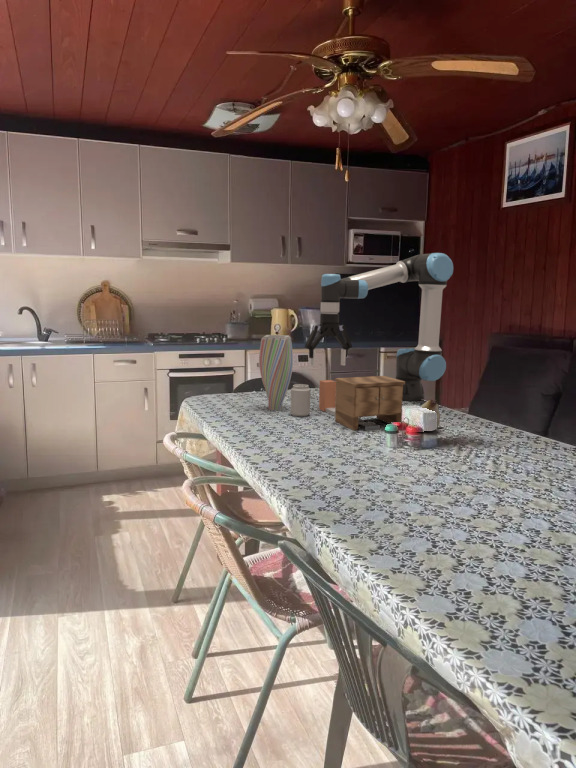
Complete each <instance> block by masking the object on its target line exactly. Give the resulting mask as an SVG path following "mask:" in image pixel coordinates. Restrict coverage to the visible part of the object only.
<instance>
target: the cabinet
mask: <svg viewBox="0 0 576 768" xmlns="http://www.w3.org/2000/svg"><path fill="white" fill-rule="evenodd" d="M334 381H335V382H336V403H335V416H334V422H336V423H337V424H339V425H341V426H343V427H346V428H348V429H350V430H352V431H356V430H357V431H358V430H359V428H358V418H365V417H376V419H377V420H380V421H382V422H385V423H387V424H390V423H391V422H401V423H402V418H403V417H402V416H403V415H402V413H403V400H402V397H403V384H405V381H401V380H397V379H396V378H394V377H390V376H387V375H378V376H377V375H373V376H372V375H371V376H355V377H352V376H351V377H337V378H336V377H335V379H334Z"/></svg>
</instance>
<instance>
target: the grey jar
mask: <svg viewBox="0 0 576 768" xmlns="http://www.w3.org/2000/svg"><path fill="white" fill-rule="evenodd" d="M310 413H311V388H310V387H309V384H303V383H298V384H293V385H292V387H291V389H290V414H291V415H292V416H293V417H297V416H299V417H298V418H300V417H303V416H304V417H307V416H308V415H310ZM304 417H303V418H304Z"/></svg>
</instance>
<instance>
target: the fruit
mask: <svg viewBox="0 0 576 768" xmlns="http://www.w3.org/2000/svg"><path fill="white" fill-rule="evenodd" d="M419 407H422V408H427V409H429V410H432V411H435V412H436V413H437V427H438V428H439V426H440V420H441V414H440V411H439V404H438V402H437V399H436V398H434V399H429V400H427V401H425V402H424V403H423V404H422V405H420V406H419Z"/></svg>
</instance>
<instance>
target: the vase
mask: <svg viewBox="0 0 576 768" xmlns="http://www.w3.org/2000/svg"><path fill="white" fill-rule="evenodd" d="M258 354H259V355H258V356H259V357H258V365H259V366H258V367H259V373H260V377H261V381H262V384H263V387H264V391H265V392H266V396H267V399H268V401H267V403H268V411H269V410H270V411H281V410H283V403H284V399H285V397H286V394H287V392H288V389H289V386H290V382H291V377H292V373H293V367H294V353H293V344H292V337H291V336H290V335H285V334H284V335H279V334H266V335H264V336H263V337H262V338H260V345H259V353H258Z"/></svg>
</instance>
